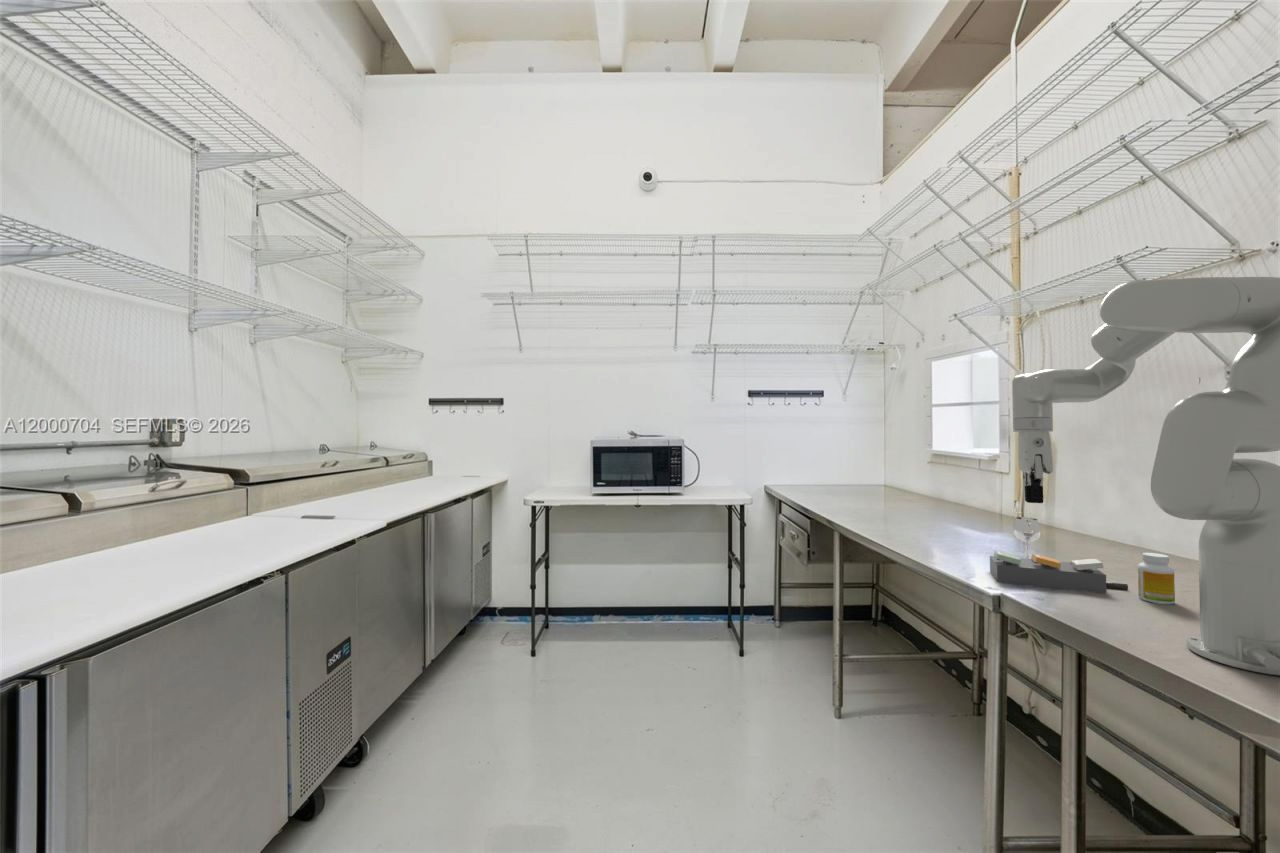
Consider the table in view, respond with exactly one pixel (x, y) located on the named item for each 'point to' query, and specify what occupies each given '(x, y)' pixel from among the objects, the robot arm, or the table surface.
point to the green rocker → (1007, 557)
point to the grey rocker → (1087, 564)
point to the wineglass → (1027, 531)
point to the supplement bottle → (1156, 579)
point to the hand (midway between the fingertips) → (1034, 502)
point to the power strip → (1051, 575)
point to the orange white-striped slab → (1046, 561)
